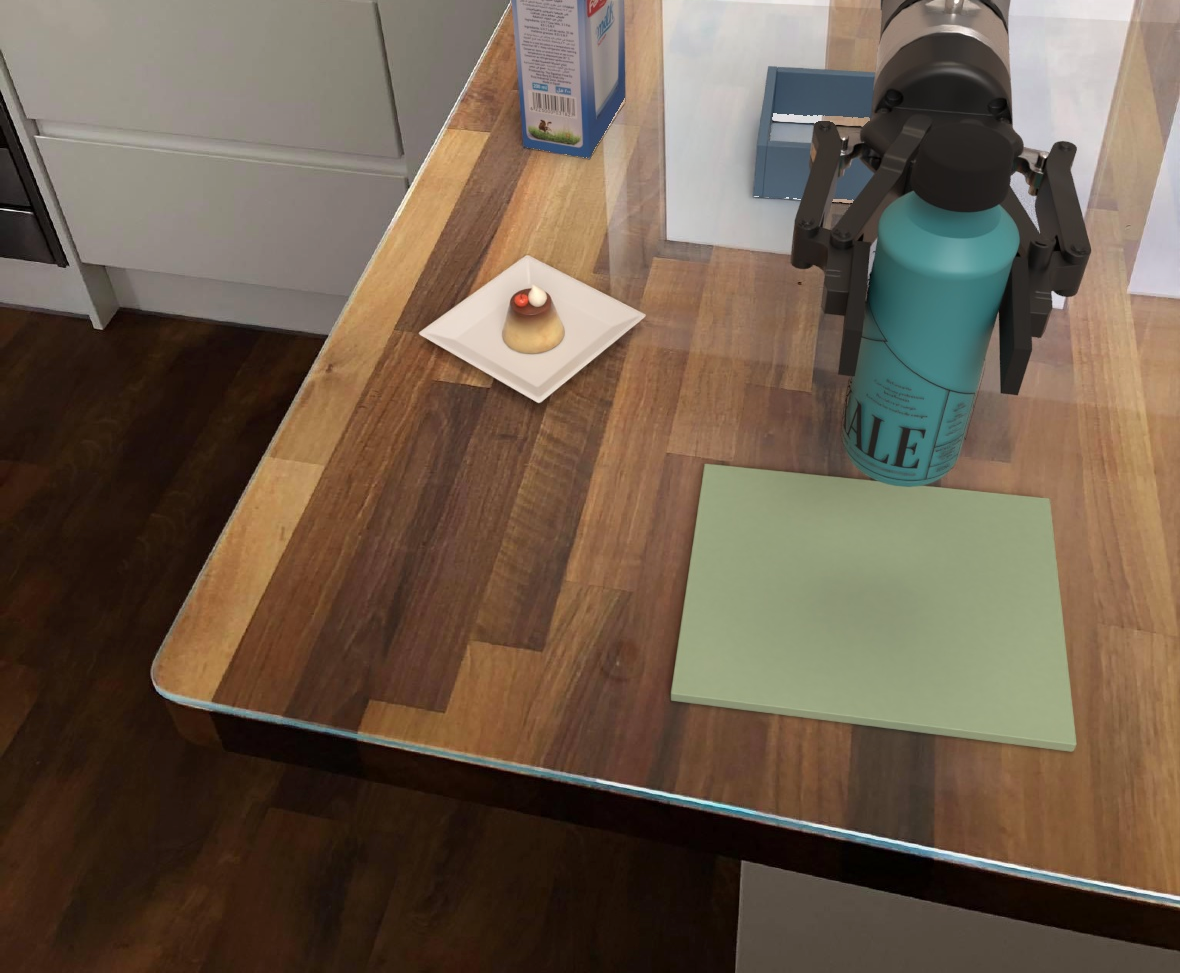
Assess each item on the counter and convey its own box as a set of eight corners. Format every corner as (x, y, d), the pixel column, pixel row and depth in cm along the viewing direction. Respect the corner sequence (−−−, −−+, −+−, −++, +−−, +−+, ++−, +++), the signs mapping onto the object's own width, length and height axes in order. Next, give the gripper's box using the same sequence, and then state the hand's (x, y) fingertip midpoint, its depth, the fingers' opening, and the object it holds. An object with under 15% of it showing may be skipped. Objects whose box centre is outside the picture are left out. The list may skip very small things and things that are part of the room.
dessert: (419, 344, 91) (410, 293, 87) (527, 265, 97) (523, 215, 93) (540, 414, 85) (535, 363, 82) (646, 326, 91) (647, 275, 88)
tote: (906, 126, 109) (915, 74, 105) (906, 208, 100) (916, 155, 97) (763, 117, 110) (768, 65, 107) (752, 197, 102) (756, 144, 98)
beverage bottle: (955, 429, 68) (1044, 104, 53) (957, 519, 64) (1055, 191, 49) (836, 417, 69) (891, 94, 54) (830, 504, 64) (888, 179, 50)
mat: (1047, 506, 78) (1050, 497, 78) (1073, 752, 66) (1077, 744, 66) (704, 471, 81) (704, 463, 81) (670, 700, 69) (670, 693, 69)
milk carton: (562, 92, 114) (551, -132, 100) (625, 102, 113) (623, -124, 98) (523, 148, 108) (504, -81, 93) (589, 160, 107) (580, -72, 92)
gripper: (774, 17, 68) (717, 271, 53) (1141, 43, 65) (1193, 321, 50) (764, 136, 73) (710, 397, 58) (1102, 165, 70) (1137, 449, 55)
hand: (932, 361), depth 54 cm, fingers closed on beverage bottle, 6 cm apart
